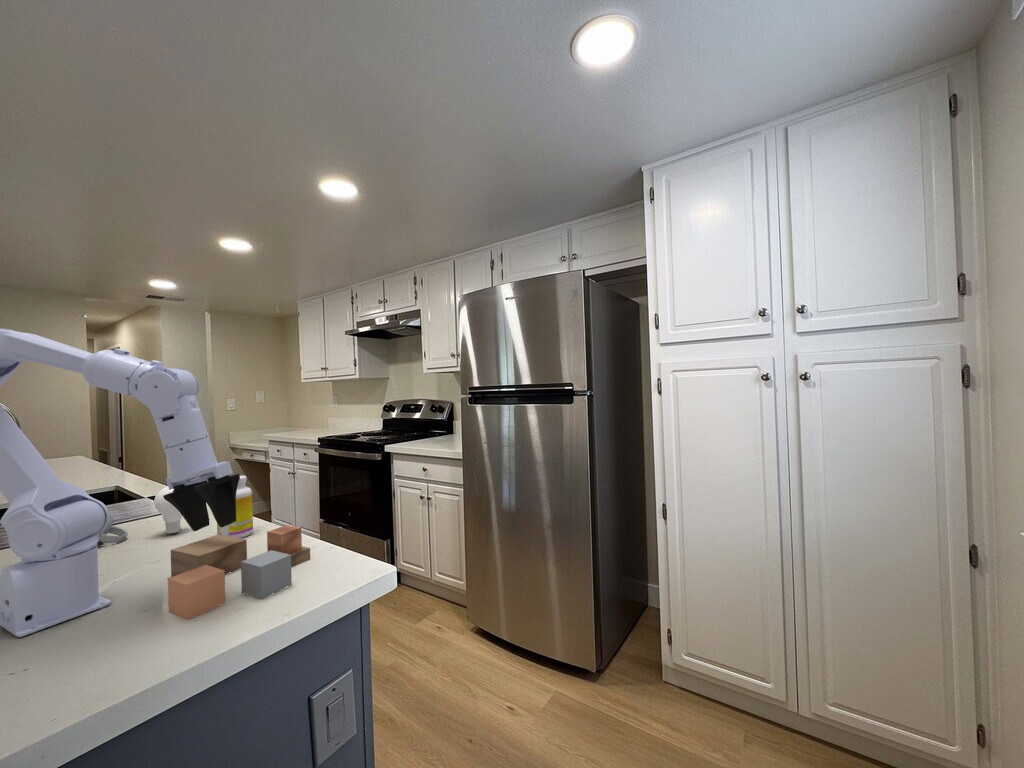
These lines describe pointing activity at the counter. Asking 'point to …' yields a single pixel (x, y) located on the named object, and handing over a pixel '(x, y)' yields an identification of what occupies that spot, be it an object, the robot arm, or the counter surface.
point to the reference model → (288, 543)
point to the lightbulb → (168, 511)
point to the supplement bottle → (240, 513)
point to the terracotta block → (196, 591)
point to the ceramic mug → (114, 530)
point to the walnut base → (210, 554)
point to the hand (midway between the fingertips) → (214, 526)
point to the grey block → (266, 574)
